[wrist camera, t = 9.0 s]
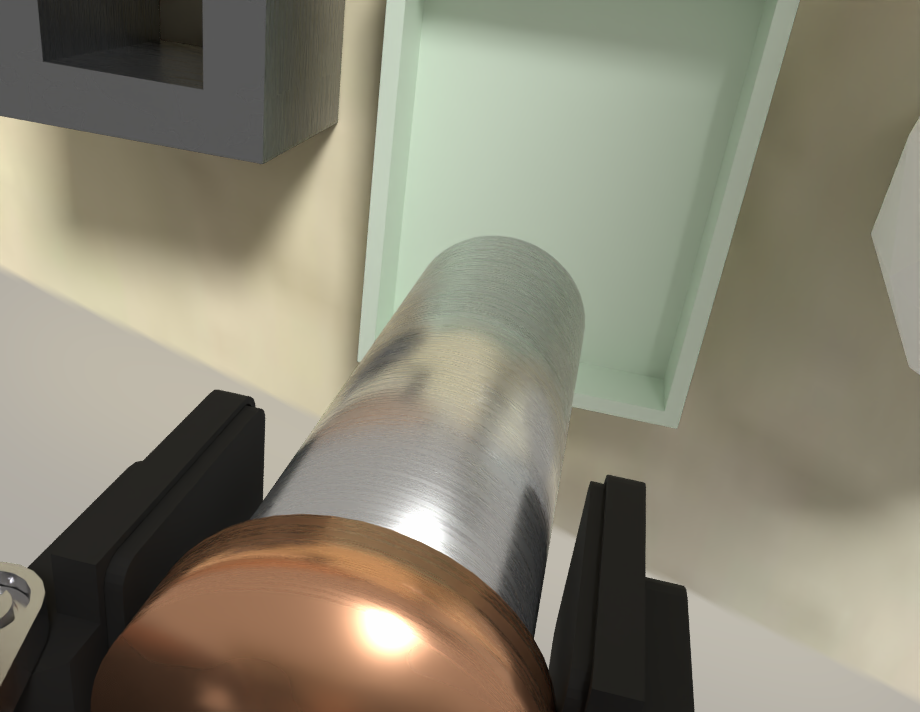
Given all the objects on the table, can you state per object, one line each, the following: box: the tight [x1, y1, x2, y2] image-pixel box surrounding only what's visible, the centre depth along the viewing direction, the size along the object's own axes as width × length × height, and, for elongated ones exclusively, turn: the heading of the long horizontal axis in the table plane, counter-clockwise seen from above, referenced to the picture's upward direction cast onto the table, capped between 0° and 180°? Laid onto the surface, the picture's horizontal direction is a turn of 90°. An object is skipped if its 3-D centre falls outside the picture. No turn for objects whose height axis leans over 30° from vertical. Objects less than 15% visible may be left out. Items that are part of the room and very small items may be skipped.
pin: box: [91, 236, 585, 712], centre depth 14 cm, size 5×5×12 cm
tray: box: [357, 0, 800, 429], centre depth 30 cm, size 15×12×3 cm
